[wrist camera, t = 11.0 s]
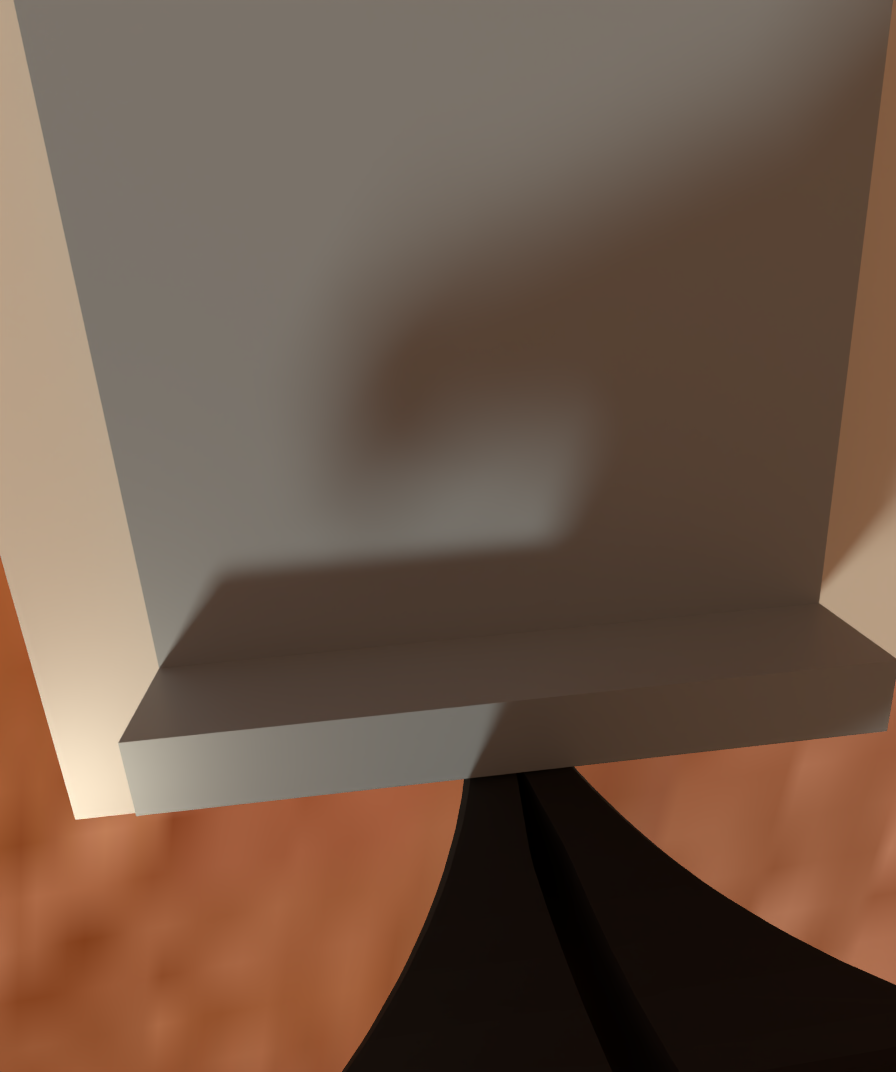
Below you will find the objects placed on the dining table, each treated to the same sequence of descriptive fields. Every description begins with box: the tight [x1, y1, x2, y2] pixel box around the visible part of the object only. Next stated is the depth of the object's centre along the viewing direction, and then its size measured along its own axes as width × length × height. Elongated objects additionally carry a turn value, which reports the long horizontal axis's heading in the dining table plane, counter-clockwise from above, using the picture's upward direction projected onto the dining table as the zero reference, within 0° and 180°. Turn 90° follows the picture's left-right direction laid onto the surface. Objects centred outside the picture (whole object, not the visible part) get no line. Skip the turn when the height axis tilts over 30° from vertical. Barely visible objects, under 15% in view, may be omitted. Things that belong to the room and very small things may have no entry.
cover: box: [14, 0, 896, 816], centre depth 10 cm, size 11×11×3 cm
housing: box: [0, 0, 896, 820], centre depth 14 cm, size 16×18×6 cm
